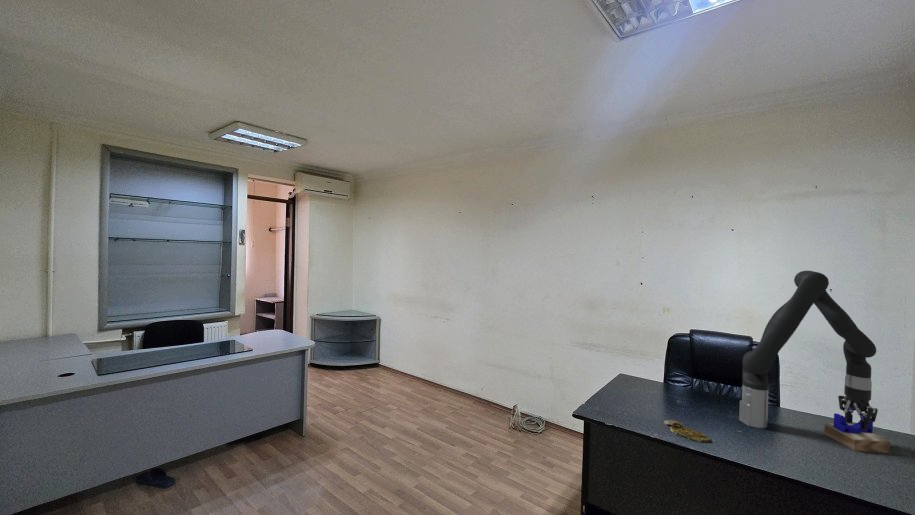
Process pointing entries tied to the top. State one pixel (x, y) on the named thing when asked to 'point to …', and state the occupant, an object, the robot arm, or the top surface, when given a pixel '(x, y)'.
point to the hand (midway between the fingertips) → (856, 425)
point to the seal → (688, 433)
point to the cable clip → (844, 427)
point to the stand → (858, 440)
